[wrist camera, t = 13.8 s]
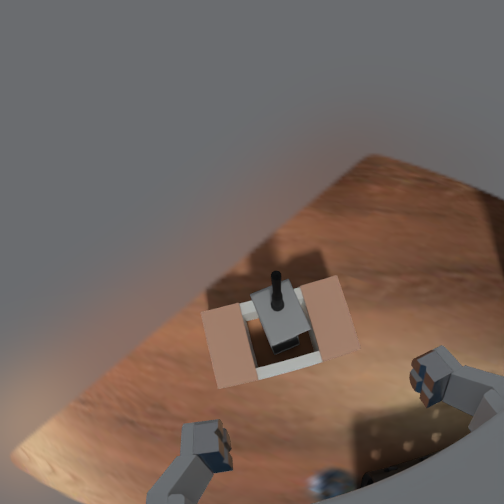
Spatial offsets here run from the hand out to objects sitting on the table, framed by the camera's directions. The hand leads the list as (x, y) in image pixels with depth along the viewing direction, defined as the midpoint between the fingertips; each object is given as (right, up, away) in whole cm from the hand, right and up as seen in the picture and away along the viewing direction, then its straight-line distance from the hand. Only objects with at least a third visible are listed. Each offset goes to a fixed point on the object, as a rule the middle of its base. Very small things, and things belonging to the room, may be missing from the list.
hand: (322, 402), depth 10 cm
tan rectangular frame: (+1, -6, +30) cm, 30 cm away
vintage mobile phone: (+1, -6, +30) cm, 31 cm away
